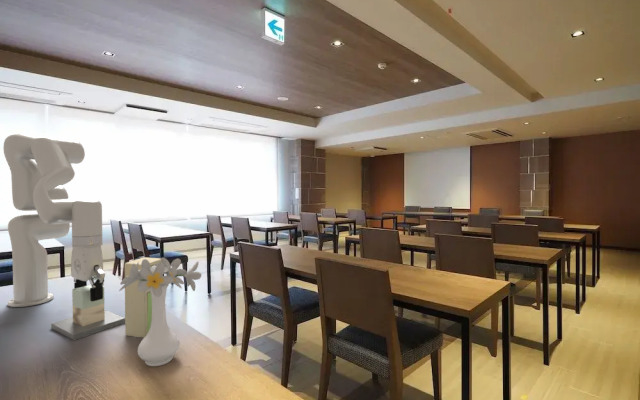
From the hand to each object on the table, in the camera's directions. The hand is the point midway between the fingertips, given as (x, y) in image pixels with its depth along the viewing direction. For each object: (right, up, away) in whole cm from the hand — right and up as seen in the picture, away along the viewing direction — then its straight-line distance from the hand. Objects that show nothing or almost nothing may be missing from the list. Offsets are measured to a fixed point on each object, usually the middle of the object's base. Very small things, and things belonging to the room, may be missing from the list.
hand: (88, 297), depth 102 cm
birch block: (0, -7, 0) cm, 7 cm away
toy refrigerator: (+19, -9, -3) cm, 21 cm away
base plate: (0, -9, 0) cm, 9 cm away
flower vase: (+31, -10, -18) cm, 37 cm away
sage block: (0, -2, 0) cm, 2 cm away
